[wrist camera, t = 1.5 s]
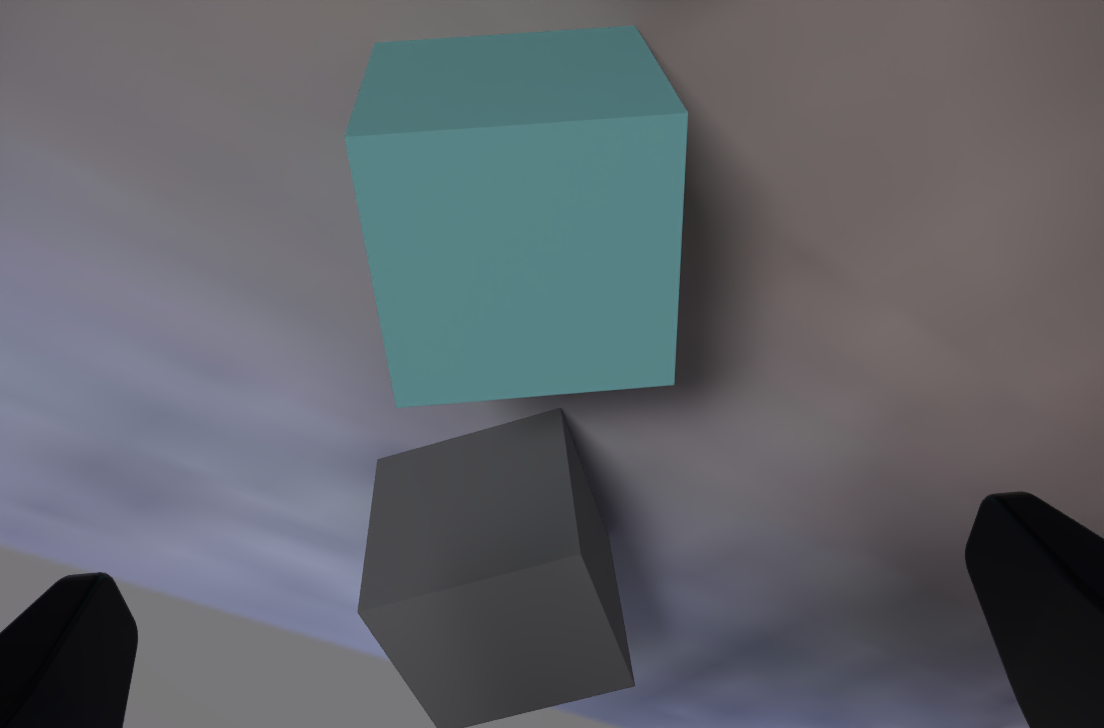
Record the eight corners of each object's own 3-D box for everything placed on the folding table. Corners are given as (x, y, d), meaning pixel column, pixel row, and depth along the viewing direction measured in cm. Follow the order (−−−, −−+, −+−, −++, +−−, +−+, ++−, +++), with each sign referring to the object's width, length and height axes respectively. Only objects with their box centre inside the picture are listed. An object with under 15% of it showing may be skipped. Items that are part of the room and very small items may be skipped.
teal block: (634, 24, 17) (688, 113, 13) (631, 253, 19) (674, 385, 15) (375, 41, 16) (344, 137, 12) (411, 270, 19) (396, 407, 15)
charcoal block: (560, 406, 22) (580, 554, 18) (608, 533, 25) (634, 686, 21) (377, 457, 22) (357, 612, 18) (445, 576, 25) (440, 733, 21)
